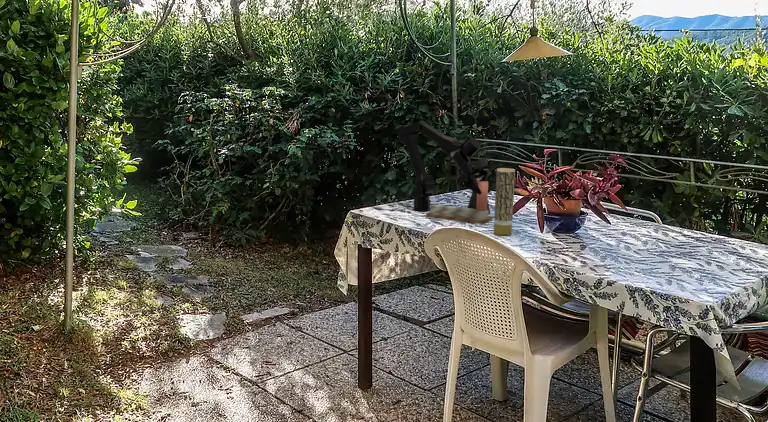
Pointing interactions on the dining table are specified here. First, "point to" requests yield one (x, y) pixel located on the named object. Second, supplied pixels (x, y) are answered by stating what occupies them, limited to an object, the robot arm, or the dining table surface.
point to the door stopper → (475, 202)
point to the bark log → (504, 201)
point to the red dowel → (482, 196)
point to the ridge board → (458, 218)
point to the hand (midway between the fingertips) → (485, 193)
